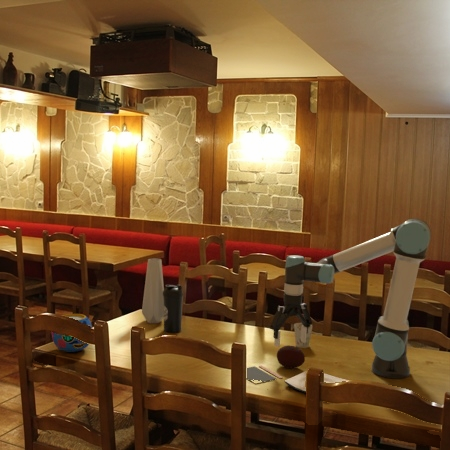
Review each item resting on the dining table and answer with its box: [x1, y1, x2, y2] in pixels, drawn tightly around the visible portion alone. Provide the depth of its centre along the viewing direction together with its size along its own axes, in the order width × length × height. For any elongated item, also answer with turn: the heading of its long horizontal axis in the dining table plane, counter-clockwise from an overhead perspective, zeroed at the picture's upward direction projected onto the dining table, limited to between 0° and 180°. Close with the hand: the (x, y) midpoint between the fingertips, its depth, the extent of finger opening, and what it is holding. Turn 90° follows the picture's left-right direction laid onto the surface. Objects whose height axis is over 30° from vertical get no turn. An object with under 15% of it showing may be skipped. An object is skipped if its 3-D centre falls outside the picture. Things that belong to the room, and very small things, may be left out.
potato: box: [276, 345, 306, 369], centre depth 235 cm, size 9×12×9 cm
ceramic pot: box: [51, 313, 93, 353], centre depth 248 cm, size 18×18×15 cm
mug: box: [293, 322, 313, 349], centre depth 261 cm, size 8×13×10 cm, turn 174°
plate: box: [284, 370, 348, 394], centre depth 216 cm, size 20×20×3 cm
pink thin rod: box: [258, 365, 284, 380], centre depth 229 cm, size 15×1×1 cm, turn 31°
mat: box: [246, 366, 277, 383], centre depth 225 cm, size 15×10×1 cm, turn 31°
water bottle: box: [163, 283, 185, 334], centre depth 281 cm, size 10×10×23 cm
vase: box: [141, 257, 165, 324], centre depth 295 cm, size 12×12×33 cm
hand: (290, 343), depth 234 cm, fingers open, 13 cm apart
